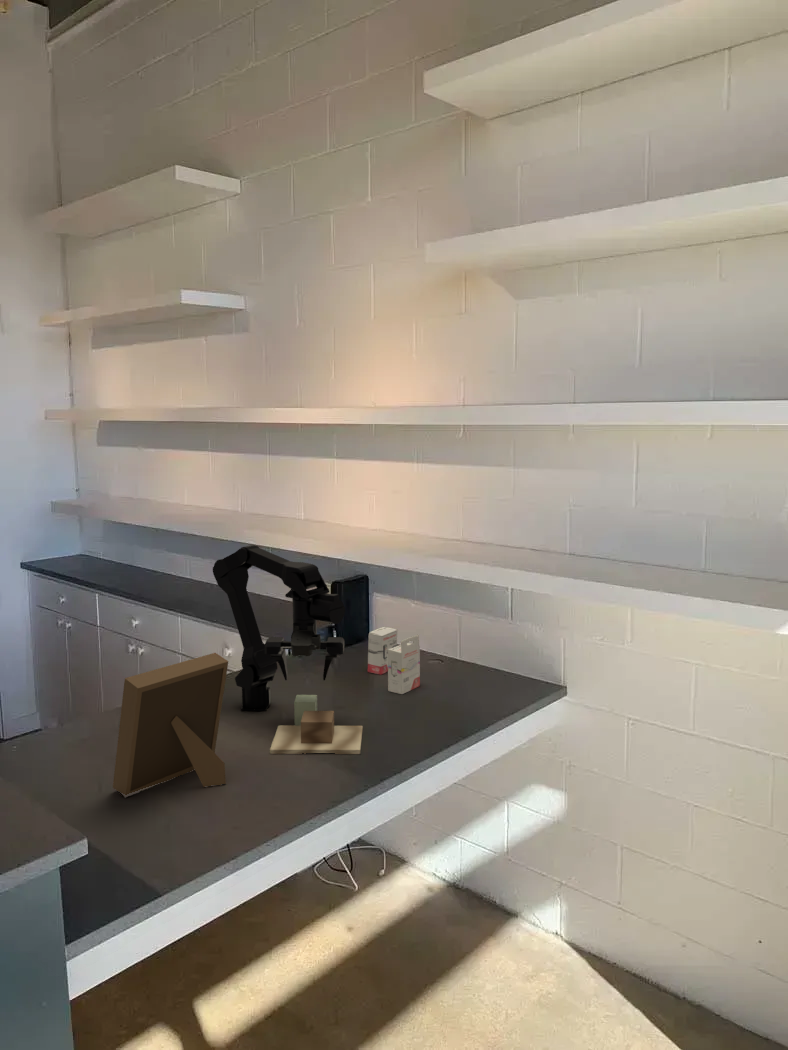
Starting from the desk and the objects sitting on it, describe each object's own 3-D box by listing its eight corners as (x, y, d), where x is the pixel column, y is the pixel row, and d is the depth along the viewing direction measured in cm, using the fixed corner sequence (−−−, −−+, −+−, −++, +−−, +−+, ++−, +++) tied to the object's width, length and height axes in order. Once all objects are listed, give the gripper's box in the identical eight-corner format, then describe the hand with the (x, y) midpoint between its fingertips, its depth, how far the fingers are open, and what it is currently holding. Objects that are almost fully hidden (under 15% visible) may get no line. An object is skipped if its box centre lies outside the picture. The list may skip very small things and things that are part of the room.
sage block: (294, 725, 204) (294, 702, 204) (297, 718, 209) (296, 694, 209) (315, 725, 204) (315, 702, 204) (317, 718, 209) (317, 694, 208)
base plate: (269, 753, 188) (269, 728, 187) (278, 729, 202) (278, 705, 201) (360, 754, 188) (360, 728, 187) (362, 729, 202) (362, 705, 201)
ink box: (381, 675, 241) (381, 635, 240) (367, 672, 244) (366, 632, 242) (398, 667, 249) (398, 628, 247) (383, 664, 251) (383, 625, 250)
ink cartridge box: (405, 682, 235) (405, 631, 233) (420, 686, 232) (420, 634, 230) (386, 691, 229) (386, 638, 226) (401, 695, 226) (401, 641, 224)
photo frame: (112, 791, 170) (108, 671, 166) (200, 757, 186) (198, 647, 182) (157, 815, 160) (153, 689, 157) (245, 777, 177) (244, 661, 173)
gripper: (260, 626, 195) (261, 691, 197) (341, 626, 195) (341, 691, 197) (267, 613, 206) (268, 675, 208) (344, 614, 206) (344, 675, 208)
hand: (305, 679), depth 205 cm, fingers open, 9 cm apart
